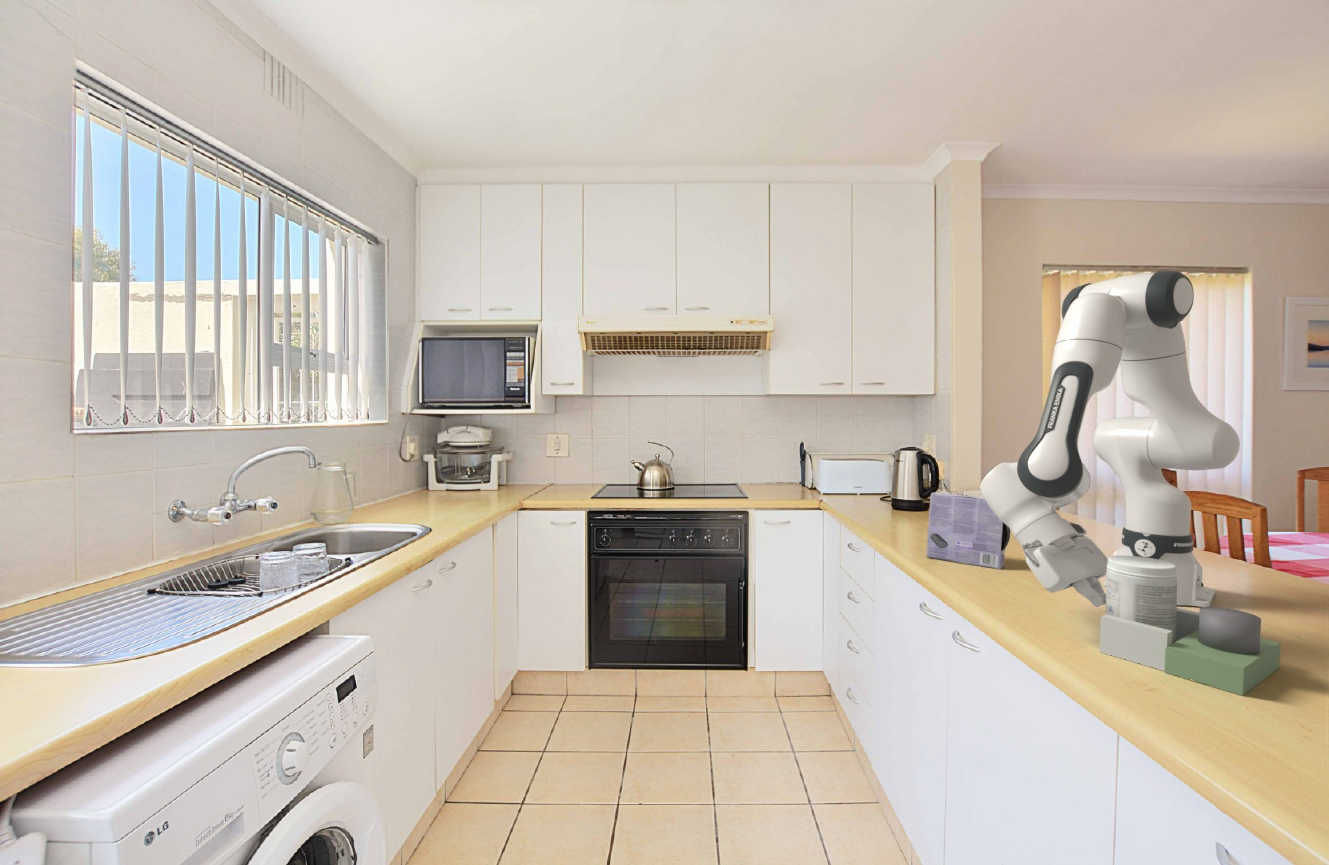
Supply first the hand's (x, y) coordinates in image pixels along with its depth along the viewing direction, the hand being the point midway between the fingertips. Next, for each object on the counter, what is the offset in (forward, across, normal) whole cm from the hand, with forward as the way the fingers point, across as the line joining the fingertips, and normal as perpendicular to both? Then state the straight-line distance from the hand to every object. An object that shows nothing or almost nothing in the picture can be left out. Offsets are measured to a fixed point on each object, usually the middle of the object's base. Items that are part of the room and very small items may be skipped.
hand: (1103, 604), depth 109 cm
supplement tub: (+8, 0, 0) cm, 8 cm away
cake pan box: (-26, +30, +35) cm, 53 cm away
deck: (+12, 0, -4) cm, 13 cm away
